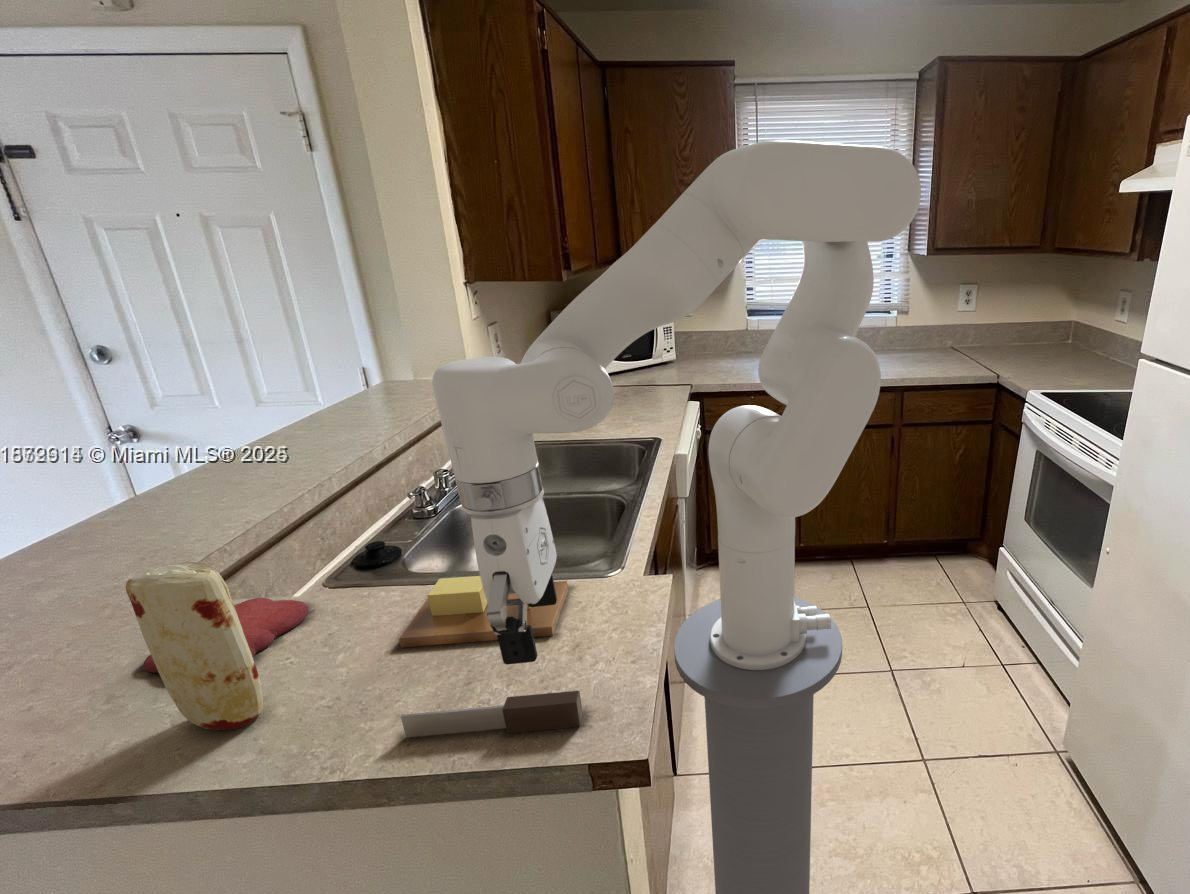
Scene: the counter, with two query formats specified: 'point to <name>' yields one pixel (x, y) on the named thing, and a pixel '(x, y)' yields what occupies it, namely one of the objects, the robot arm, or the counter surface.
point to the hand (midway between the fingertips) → (532, 631)
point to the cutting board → (478, 623)
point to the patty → (261, 622)
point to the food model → (198, 644)
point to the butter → (457, 596)
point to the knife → (501, 716)
